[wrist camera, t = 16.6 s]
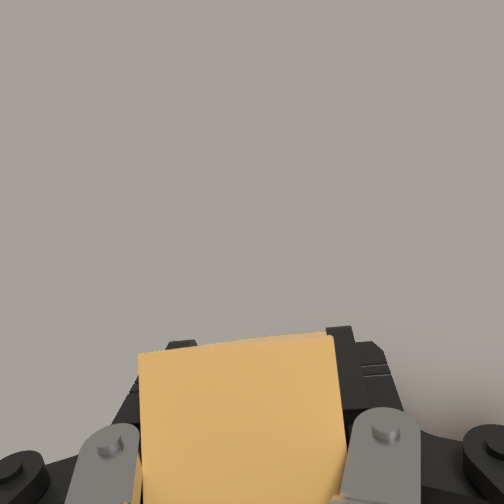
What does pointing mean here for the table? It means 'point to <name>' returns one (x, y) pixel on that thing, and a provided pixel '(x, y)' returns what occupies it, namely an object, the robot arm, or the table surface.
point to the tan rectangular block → (242, 422)
